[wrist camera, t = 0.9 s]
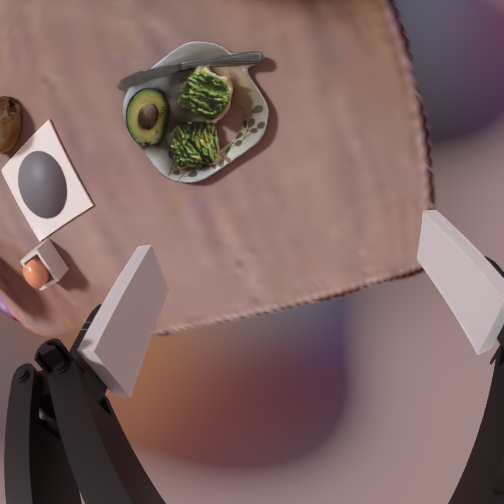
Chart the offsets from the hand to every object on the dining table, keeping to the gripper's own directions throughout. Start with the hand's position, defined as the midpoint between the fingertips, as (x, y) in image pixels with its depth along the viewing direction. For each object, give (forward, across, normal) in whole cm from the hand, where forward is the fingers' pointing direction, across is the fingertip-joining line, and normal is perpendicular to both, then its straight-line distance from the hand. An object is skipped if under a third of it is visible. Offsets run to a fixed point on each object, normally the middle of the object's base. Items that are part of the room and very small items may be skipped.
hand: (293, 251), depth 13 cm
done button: (+22, -43, -11) cm, 50 cm away
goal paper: (+26, -37, +2) cm, 45 cm away
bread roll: (+26, -42, +16) cm, 52 cm away
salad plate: (+26, -10, +6) cm, 29 cm away
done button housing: (+25, -43, -11) cm, 51 cm away
